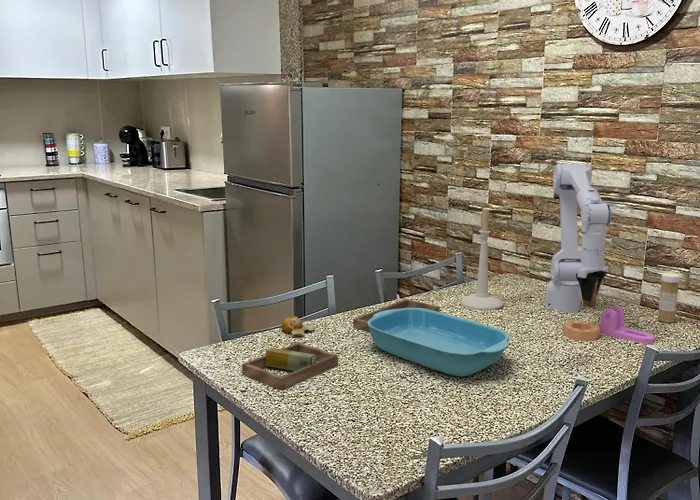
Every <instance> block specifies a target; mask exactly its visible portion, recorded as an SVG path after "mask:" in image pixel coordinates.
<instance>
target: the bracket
mask: <svg viewBox="0 0 700 500" xmlns="http://www.w3.org/2000/svg"><path fill="white" fill-rule="evenodd" d="M600 313H601V314H600V323H599V328H600V334H603V335H606V336H611V337H615V338H619V339H622V340H627V341H630V342H635V343H639V344H644V345H647V344H648V345H649V344H654V343H655V336H654V334H652V333H649V332H645V331H642V330H639V329H638V330H637V329H633V328H629V327H625V326H624V318H625V317H624V316H625V311H624V309H623V308H622V306H620V305H613V306H612V305H611V306H610V307H609V308H606V309H604V310H602V311H601V312H600Z"/></svg>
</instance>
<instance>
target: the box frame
mask: <svg viewBox="0 0 700 500" xmlns="http://www.w3.org/2000/svg"><path fill="white" fill-rule="evenodd" d="M282 349H283V350H289V351H295V352H302V353H308V354H315V355H317V357H316V362H315V363H314V364H313V365H308V366H306V367H303V368H301V369H299V370H296V371H292V372H290V373H287V374H285V375H283V376H281V375H279V374H276V373H274V372H270V371H268V370H266V369H265V368H268V367H269V366H266V354H265V355H264V354H263V355H262V356H259V357H257V358H254V359H251V360H249V361H245V362H243V363H242V364H241V370H242V371H241V374H242V376H246V377H247V378H251V379H253V380H256V381H257V382H261V383H263V384H266V385H268V386H271V387H272V388H273V387H274V388H276V389H278V390H280V391H283V390H285V389H288V388H290V387H292V386H294V385H298V384H299V383H301V382H304V381H306V380H308V379H310V378H312V377H314V376H316V375H317V376H318V375H319V374H321V373H324V372H326V371H329V370H330V369H332V368H335V367H337V366H339V355H338V354H335V353H332V352H329V351H326V350H323V349H320V348H317V347H314V346H310V345H308V344H305V343H301V342H297V343H294V344H292V345H291V344H290V345H289V346H285V347H283V348H282Z"/></svg>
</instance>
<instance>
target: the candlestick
mask: <svg viewBox="0 0 700 500" xmlns="http://www.w3.org/2000/svg"><path fill="white" fill-rule="evenodd" d="M489 215H490V209H489V208H482V209H481V230H478V232H479V234H480V235H479V238H481V242H480V251H479V260H478V261H479V262H478V269H477V271H478V272H477V282H476V291H475V293H474V294H469V295H466V296H464V297H463V298H461V300H460V305H462V306H463V307H465V308H467V309H470V310H476V311H477V310H478V311H495V310H499V309H501V308H502V307H504V303H503V301H502V300H501V299H500V298H498V297H497V296H494V295H491V294H489V267H488V266H489V265H488V264H489V263H488V262H489V261H488V260H489V258H488V250H489V249H488V248H489V246H488V244H489V243H488V238H489V237H490V233H491V232H492V231H491V230H489V223H490V222H489V218H490V217H489Z"/></svg>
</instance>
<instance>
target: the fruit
mask: <svg viewBox="0 0 700 500" xmlns="http://www.w3.org/2000/svg"><path fill="white" fill-rule="evenodd" d="M280 328H281V330H282V331H283V333H285V334H287V333H288V334H290V333H291V336H300V337H301V336H302V337H303V336H305V330H308V331H313V330H315V329H316V327H315V326H306V325H303V322H302V320H301V319H300V318H299V317H298V316H295V315H293V316H289V317H286V318H285V319H284V320H282V322H281V326H280Z"/></svg>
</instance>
